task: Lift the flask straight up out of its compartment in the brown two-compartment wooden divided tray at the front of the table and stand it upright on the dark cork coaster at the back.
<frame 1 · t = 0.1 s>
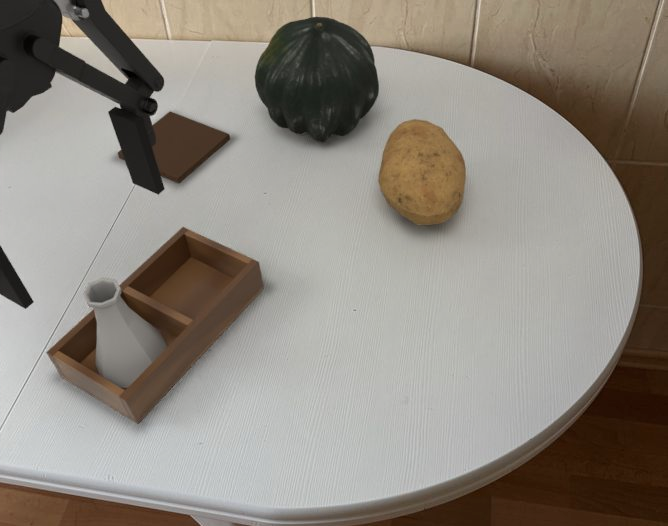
hand: (87, 239, 52), 19 cm above the table, tool pointing down, fingers open, 13 cm apart
wooden divided tray: (166, 331, 71), on the table
potato: (420, 207, 80), on the table
flask: (134, 361, 68), resting in wooden divided tray
coaster: (175, 148, 89), on the table
squash: (321, 121, 91), on the table
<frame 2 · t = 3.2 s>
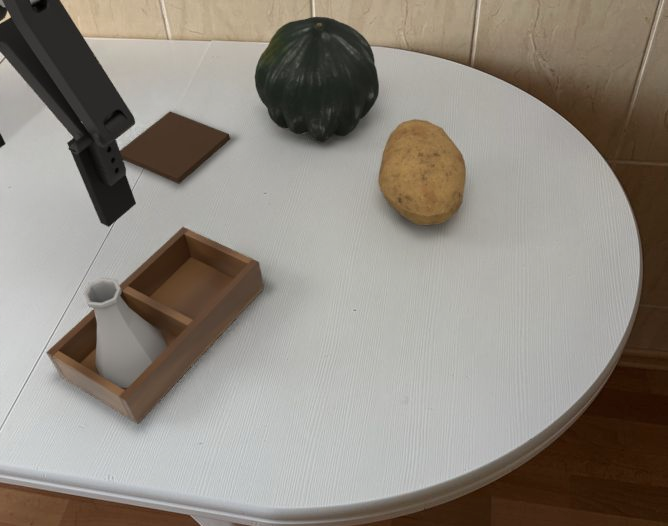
hand: (50, 181, 51), 22 cm above the table, tool pointing down, fingers open, 13 cm apart
nothing on the table moved.
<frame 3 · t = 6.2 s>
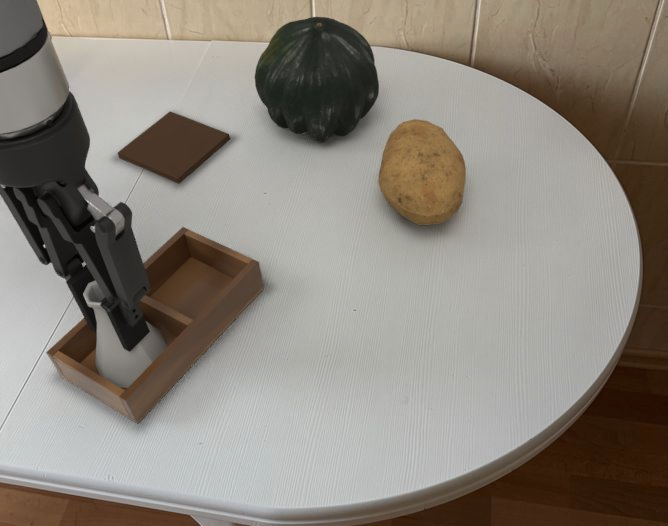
hand: (120, 330, 64), 5 cm above the table, tool pointing down, fingers closed on flask, 3 cm apart
flask: (134, 361, 68), resting in wooden divided tray, touching gripper
everything else where it was.
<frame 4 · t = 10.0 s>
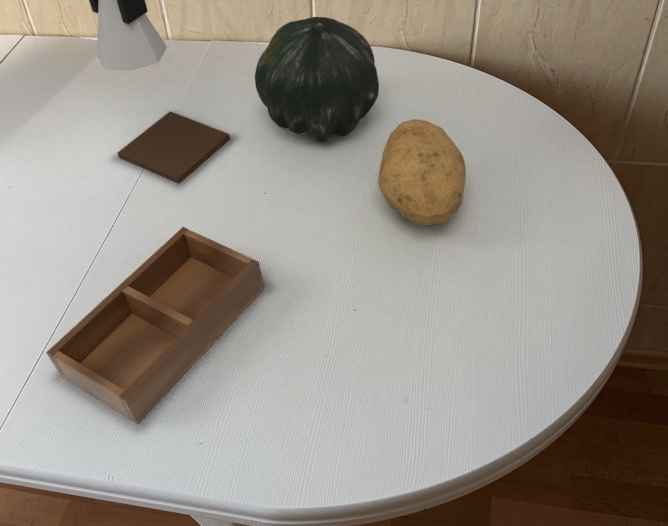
hand: (120, 11, 69), 20 cm above the table, tool pointing down, fingers closed on flask, 3 cm apart
flask: (133, 56, 73), point 16 cm above the table, touching gripper
everything else where it was.
when the fingers open (5 cm above the table, at t = 14.0 s): flask stays where it is, resting on coaster.
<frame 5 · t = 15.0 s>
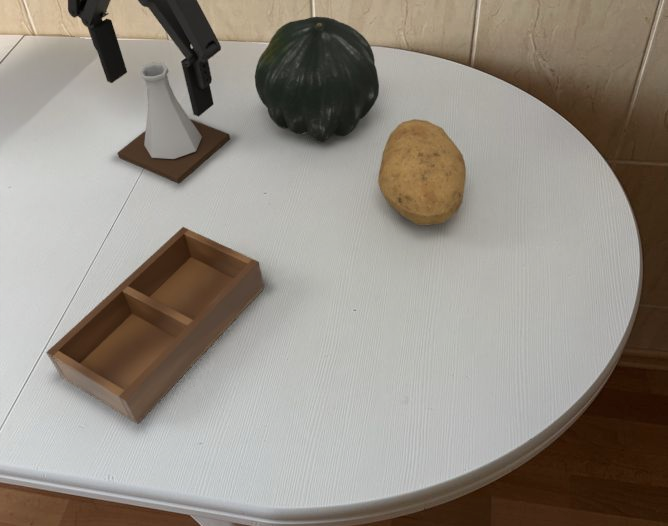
hand: (159, 93, 83), 8 cm above the table, tool pointing down, fingers open, 13 cm apart
flask: (174, 144, 88), point 1 cm above the table, touching coaster
everything else where it was.
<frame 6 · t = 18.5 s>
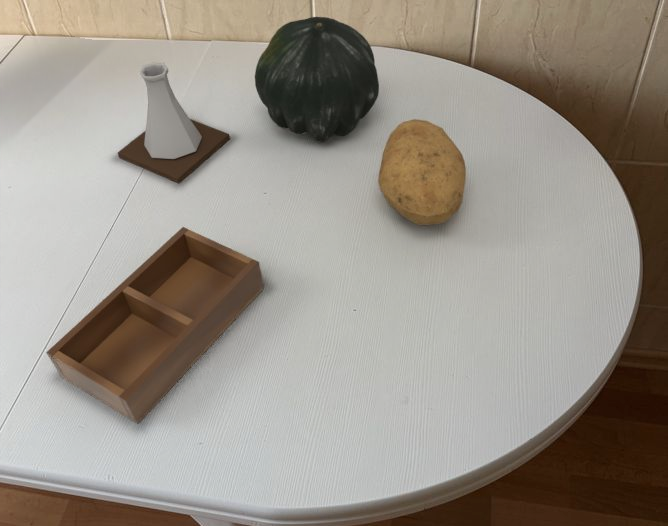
nothing on the table moved.
at the end: flask inside the target area on the coaster (0.0 cm from its centre), point 0.6 cm above the coaster's base; flask tilted 0°; the gripper is holding nothing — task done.
